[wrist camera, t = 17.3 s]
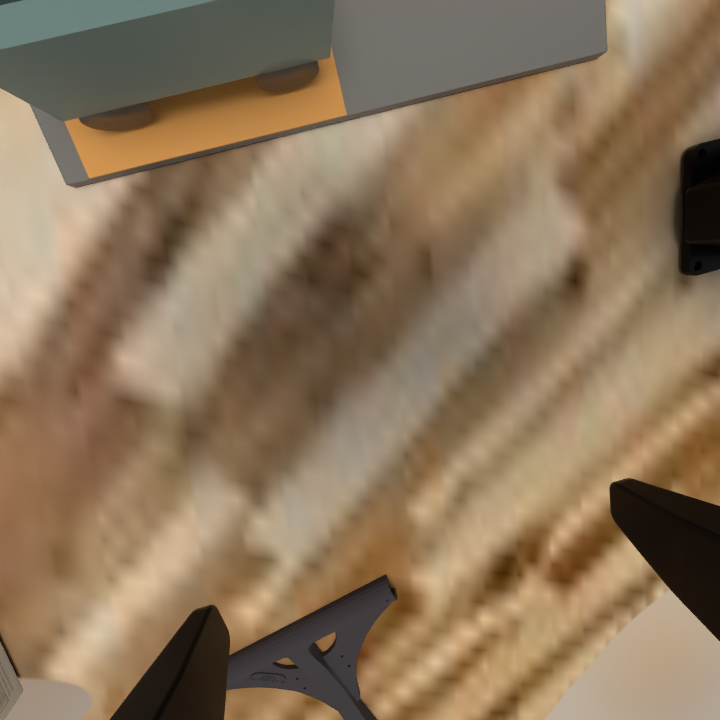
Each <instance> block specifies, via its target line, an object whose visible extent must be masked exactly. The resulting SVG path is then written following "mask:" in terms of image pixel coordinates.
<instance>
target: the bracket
mask: <svg viewBox="0 0 720 720" xmlns="http://www.w3.org/2000/svg"><path fill="white" fill-rule="evenodd" d="M395 600H397V593H396V590H395V589H394V588H392V589H390V587H389V584H388V580H387V576H386V575H384V576H382V577H381V578H379V579H377V580H375V581H373V582H371V583H369V584H367V585H365V586H363V587H361V588H359V589H357V590H355V591H353V592H352V593H350V594H348V595H346V596H344V597H342V598H340V599H338V600H336V601H334V602H332V603H330V604H328V605H326V606H324V607H323V608H321V609H319V610H317V611H315V612H313V613H311V614H309V615H307V616H305V617H303V618H301V619H299V620H297V621H295V622H294V623H292V624H290V625H288V626H286V627H284V628H282V629H280V630H278V631H276V632H274V633H272V634H270V635H268V636H267V637H265V638H263V639H261V640H259V641H257V642H255V643H253V644H251V645H249V646H247V647H245V648H243V649H241V650H239V651H238V652H236V653H234V654H232V655H230V656H229V661H228V674H227V687H226V690H230V689H238V688H253V687H264V688H277V689H285V690H292V691H297V692H301V693H303V694H306V695H308V696H311V697H313V698H316V699H318V700H320V701H322V702H324V703H326V704H327V705H329V706H330V707H332V708H334V709H335V710H337V711H338V712H339V713H340V714H341V716H342V717H343V719H344V720H377V719H376V717H375V716H374V715H373V714H372V713H371V711H370V710H369V709H368V708H367V706H366V705H365V704H364V703H363V702H362V700H361V699H360V692H359V688H358V684H357V680H356V660H357V657H358V654H359V651H360V648H361V646H362V643H363V641H364V639H365V637H366V635H367V633H368V632H369V630H370V628H371V627H372V625H373V624H374V622H375V621H376V620H377V619H378V617H379V616H380V615H381V614H382V613H383V611H384V610H385V609H386V608H387V607H388V606H389V605H390V604H391V603H392V602H394V601H395ZM333 632H336V639H335V641H334V643H333V645H332V646H331V647H330V648H329V649H328V650H326V651H324V652H322V651H321V650H320V649H319V648H318V646H317V645H316V644H315V642H316V641H317V640H319V639H321V638H323V637H325V636H327V635H329V634H331V633H333ZM282 658H289V659H290V660H291V661H292V662H293V663H294V664H295V665H283V664H279V663H277V662H276V661H278V660H280V659H282Z"/></svg>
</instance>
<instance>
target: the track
mask: <svg viewBox="0 0 720 720" xmlns="http://www.w3.org/2000/svg"><path fill="white" fill-rule="evenodd" d="M605 52H607V33H606V5H605V0H335V2H334V15H333V28H332V40H331V53H330V58H327V59H323V60H319V61H318V65H319V72H318V74H317V76H316V77H315V78H314V79H313V80H312V81H311V82H309V83H308V84H306V85H304V86H302V87H300V88H298V89H295V90H291V91H287V92H276V93H275V92H267V91H264V90H262V89H260V88H259V87H258V86H257V84H256V80H255V77H254V76H252V77H248V78H244V79H240V80H235V81H231V82H227V83H223V84H219V85H214V86H210V87H206V88H202V89H198V90H193V91H189V92H185V93H181V94H177V95H172V96H168V97H164V98H160V99H156V100H152V101H148V102H149V104H150V107H151V110H152V113H153V117H152V119H151V120H150V121H149V122H148V123H147V124H145V125H143V126H140V127H138V128H134V129H129V130H122V131H104V130H97V129H93V128H90V127H87V126H85V125H84V124H82V123H81V122H80V120H79V118H76V119H72V120H68V121H64V122H62V121H60V120H58V119H57V118H55V117H53V116H51V115H49V114H47V113H46V112H44V111H42V110H40V109H38V108H36V107H35V106H33V105H31V104H30V106H31V108H32V110H33V112H34V115H35V117H36V119H37V121H38V123H39V126H40V128H41V130H42V132H43V134H44V137H45V139H46V141H47V143H48V145H49V148H50V150H51V152H52V154H53V156H54V159H55V161H56V163H57V165H58V167H59V170H60V172H61V174H62V176H63V178H64V181H65V183H66V185H69V186H72V187H80V186H84V185H88V184H92V183H96V182H100V181H104V180H108V179H112V178H116V177H120V176H124V175H128V174H132V173H136V172H140V171H144V170H148V169H153V168H157V167H161V166H165V165H169V164H173V163H177V162H181V161H185V160H189V159H193V158H197V157H201V156H205V155H209V154H213V153H217V152H221V151H225V150H229V149H233V148H237V147H241V146H245V145H249V144H253V143H257V142H262V141H266V140H270V139H274V138H278V137H282V136H286V135H290V134H294V133H298V132H302V131H306V130H310V129H314V128H318V127H322V126H326V125H330V124H334V123H338V122H342V121H346V120H350V119H354V118H358V117H362V116H367V115H371V114H375V113H379V112H383V111H387V110H391V109H395V108H399V107H403V106H407V105H411V104H415V103H419V102H423V101H427V100H431V99H435V98H439V97H443V96H447V95H451V94H455V93H459V92H463V91H467V90H471V89H476V88H480V87H484V86H488V85H492V84H496V83H500V82H504V81H508V80H512V79H516V78H520V77H524V76H528V75H532V74H536V73H540V72H544V71H548V70H552V69H556V68H560V67H564V66H568V65H572V64H576V63H581V62H585V61H589V60H593V59H597V58H598V57H600V56H601V55H602V54H604V53H605Z"/></svg>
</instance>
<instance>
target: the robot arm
mask: <svg viewBox="0 0 720 720" xmlns="http://www.w3.org/2000/svg"><path fill="white" fill-rule="evenodd" d="M697 154H698V157H697V156H696V155H697ZM694 264H695V265H694ZM693 267H694V268H693ZM718 269H720V139H716V140H712V141H708V142H704V143H701V144H697V145H694V146H692V147H690V148H689V149H688V150H687V151H686V153H685V156H684V182H683V236H682V272H683V273H684V274H685V275H693V276H695V275H700V274H704V273H708V272H711V271H715V270H718ZM610 510H611V515H612V518H613V520H614V521H615V523H616V524H617V526H618V527H619V528H620V529H621V530H622V532H623V533H624V534H625V535H626V537H627V538H628V539H629V540H630V541H631V543H632V544H633V545H634V546H635V547H636V549H637V550H638V551H639V552H640V554H641V555H642V556H643V557H644V558H645V560H646V561H647V562H648V563H649V565H650V566H651V567H652V568H653V569H654V571H655V572H656V573H657V574H658V576H659V577H660V578H661V579H662V580H663V582H664V583H665V584H666V585H667V586H668V587H669V588H670V590H671V591H672V592H673V593H674V594H675V595H676V596H677V597H678V598H679V599H680V600H681V601H682V603H683V604H684V605H685V606H686V607H687V608H688V609H690V611H691V612H692V613H693V614H694V615H695V616H696V617H697V618H698V619H699V620H700V621H701V622H702V623H703V624H704V625H705V626H706V628H707V629H708V630H709V631H710V632H711V633H712V634H713V635H714V636H715V637H716V638H717V639H718V640H719V641H720V506H718V505H714V504H711V503H708V502H705V501H702V500H699V499H695V498H692V497H689V496H686V495H683V494H679V493H676V492H673V491H670V490H667V489H663V488H660V487H657V486H654V485H651V484H647V483H644V482H641V481H638V480H635V479H631V478H627V479H623V480H619V481H616V482H613V483H612V484H611V485H610ZM229 649H230V636H229V631H228V629H227V627H226V625H225V623H224V621H223V619H222V617H221V615H220V613H219V610H218V609H217V607H216V606H215V605H208V606H205V607H201V608H198V609H196V610H194V611H193V612H192V613H191V614H190V615H189V617H188V618H187V619H186V621H185V622H184V623H183V625H182V626H181V627H180V628H179V630H178V631H177V632H176V634H175V635H174V636H173V638H172V639H171V640H170V641H169V643H168V644H167V645H166V647H165V648H164V649H163V651H162V652H161V653H160V655H159V656H158V657H157V658H156V660H155V661H154V662H153V664H152V665H151V666H150V668H149V669H148V670H147V671H146V673H145V674H144V675H143V677H142V678H141V679H140V681H139V682H138V683H137V685H136V686H135V687H134V688H133V690H132V691H131V692H130V694H129V695H128V696H127V698H126V699H125V700H124V702H123V703H122V704H121V705H120V707H119V708H118V709H117V711H116V712H115V713H114V715H113V716H112V717H111V718H110V720H224V713H225V700H226V687H227V674H228V661H229Z"/></svg>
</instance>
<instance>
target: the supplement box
mask: <svg viewBox="0 0 720 720" xmlns="http://www.w3.org/2000/svg"><path fill="white" fill-rule="evenodd" d="M22 691H23V689H22V686H21V684H20V682H19V680H18V678H17V676H16V674H15V671H14V669H13V667H12V665H11V663H10V661H9V659H8V657H7V654H6V652H5V650H4V648H3V646H2V644H1V642H0V720H4V719H5V717H6V716H7V714H8V713H9V711H10V710H11V709H12V707H13V706H14V704H15V703H16V701H17V700H18V698H19V696H20V695H21V693H22Z"/></svg>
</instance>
